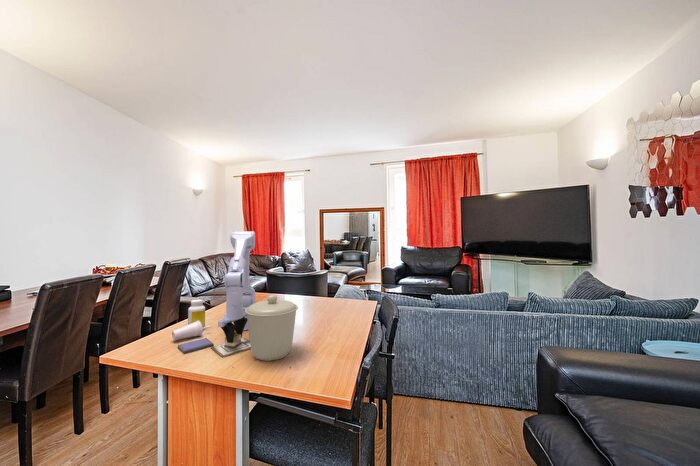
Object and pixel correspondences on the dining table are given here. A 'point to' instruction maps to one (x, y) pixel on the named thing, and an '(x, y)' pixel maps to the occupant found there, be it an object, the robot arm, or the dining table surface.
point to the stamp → (234, 341)
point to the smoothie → (188, 331)
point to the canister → (271, 327)
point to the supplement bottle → (196, 312)
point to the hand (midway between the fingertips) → (234, 340)
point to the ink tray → (195, 345)
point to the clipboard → (227, 351)
